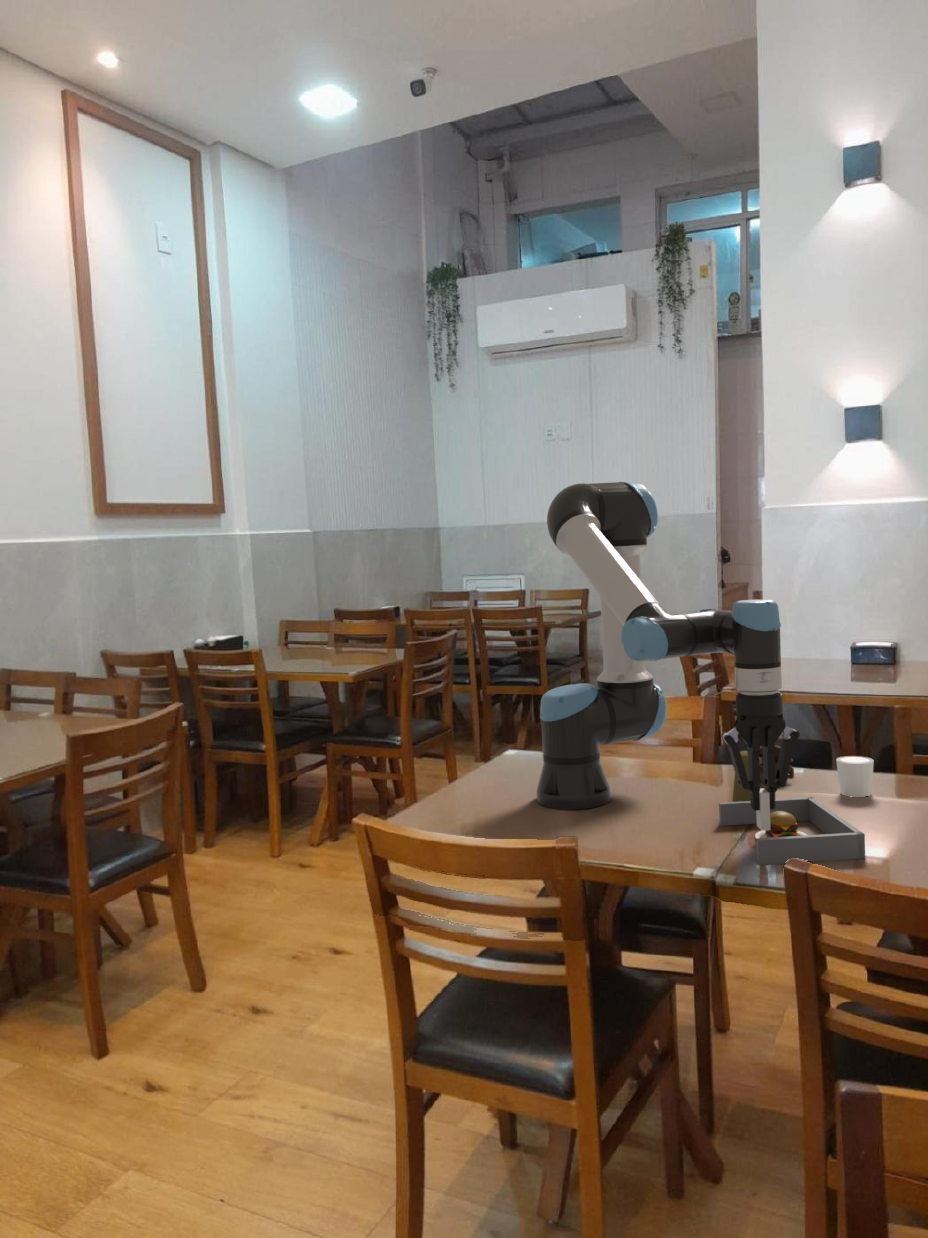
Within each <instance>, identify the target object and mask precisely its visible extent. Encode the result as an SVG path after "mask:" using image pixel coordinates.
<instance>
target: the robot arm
mask: <svg viewBox="0 0 928 1238" xmlns="http://www.w3.org/2000/svg"><path fill="white" fill-rule="evenodd" d="M658 518H659V516H658V507H657V504H656V501H655V498H654V497H653V495H652V493H651V492H650V491H649V489H648V488H647V487H646V486H644V485H643V484H641V483H638V482H626V481H617V482H595V483H584V482H583V483H576V484H572V485H568V486H567V487H565V488H563V489H562V490H560V491H559V492H558V493H557V494H556V495H555V497H554V498H553V499H552V501H551V503H550V505H549V508H548V511H547V516H546V524H547V531H548V533H549V537H550V538H551V541H552V543H553V544H554V545H555V547H556V548H557V549H558V550H559V552H561V553H562V554H564V555H566V556H570V558H571V559H572V560H573V561H574V563H575V564H576V565H577V567H578V568H579V569H580V571H581V572H582V573H583V576H585V578H586V579H587V580H588V581H589V583H590V584H591V585H592V586H593V588H594V590H595V591H596V592H597V593H598V595H599V597H600V618H601V619H600V620H601V637H602V638H601V639H602V640H601V641H602V660H603V661H602V662H603V671H602V672H601V673H600V674H599V675H598V676H597V678H596V682H597V684H596V685H597V687H596V685H595V684H592V683H587V682H585V683H583V682H581V683H574V684H567V685H565V684H564V685H562V686H557V687H555V688H552V689H550V690H548V691H546V692H545V693H544V694H543V695H542V696H541V699H540V708H539V709H540V711H539V718H540V725H541V742H542V755H543V760H542V761H543V766H542V769H541V773H540V776H539V779H538V783H537V787H536V801H537V803H538V804H539V805H541V806H543V807H545V808H546V807H547V808H549V809H550V808H551V809H556V810H557V809H558V810H583V809H585V810H586V809H592V808H597V807H601V806H603V805H606V804H607V803H609V802H610V801H611V797H612V796H611V787H610V784H609V781H608V780H607V776H606V773H605V771H604V768H603V766H602V765H603V764H602V763H601V753H600V749H601V748H600V746H606V745H611V744H617V743H624V742H630V741H631V742H632V741H634V742H637V741H640V740H643V739H647V738H650V737H653V736H655V735H656V734H657V733H658V732H659V730H661V729H662V726H663V725H664V722H665V719H666V713H667V702H666V698H665V697H666V696H665V695H664V694H663V692H664V691H663V689H662V688H661V687H660V686H659V684H657V683H655V682H654V676H653V675H652V674H651V672H649V671H648V670H647V669H646V661H650V662H652V661H653V662H655V661H660V660H666V659H672V658H679V657H690V656H698V655H707V654H715V653H716V654H718V653H721V654H729V655H730V654H731V655H733V656H734V657H733V658H734V663H733V664H734V665H733V666H734V683H735V685H734V688H735V690H737V691H738V692H736V694H735V712H736V718H735V721H734V723H733V728H732V729H730V730H729V731H728V732H722V733H721V739H722V740H723V742H724V743H725V744H726V746H727V749H728V752H729V755H730V759H731V763H733V764H732V766H733V769H734V774H735V773H736V777H737V780H738V784H739V785H740V786H741V787H742V788H744V789H747V790H750V805H751V808H752V809H753V810H756V819H757V824H756V827H757V828H758V829H759V830H760V831H764V830H771V827H770V809H774V808H775V799H776V793H777V791H778V789H780V788H784V787H786V785H787V781H788V777H789V776H788V775H789V774H788V772H789V767H790V766H791V763H792V762H791V758H792V759H793V757H792V756H793V751H794V748H795V744H796V743H797V741H798V739H799V738H800V735H801V734H800V731H798V730H796V729H794V728H791V727H789V726H788V725H787V722H786V721H785V719H784V715H783V714H784V707H783V694H782V692H780V690H781V689H783V685H782V659H781V658H782V655H781V653H782V652H781V627H782V624H781V621H780V620H781V619H780V612H779V611H780V609H779V605H778V603H777V602H776V601H775V600H773V599H743V600H738V601H735V602H733V604H732V607H731V608H732V609H731V610H724V609H723V610H722V609H716V608H706V609H704V608H703V609H696V610H695V611H693V612H685V613H672V614H669V613H668V612H667V611H666V609H664V607H663V606H662V605H661V604H660V603H659V602H658V600H657V599H656V597H654V595H653V594H652V593H651V592H650V591H649V589H648V588H647V586H646V585H645V584H644V583H643V581H642V574H641V569H642V568H641V554H642V552H643V551H644V550H645V548H647V547H648V541H647V538H649V537H651V535H653V534H654V532H655V531H656V526H658V525H657V524H658V522H659V521H658ZM738 735H739V737H740V738H741V739H742V740H743V742H744V743H745V744H746V751H748V777H749V781H748V778H747V774H746V771H745V767H744V764H743V760H742V757H741V753H740V747H739V745H738V741H739V737H738ZM781 735H782V740H781V745H780V747H781V749H780V754H779V759H778V763H777V768H776V773H775V758H774V752H775V745H776V742H777V741H778V739H779V738H780V737H781ZM760 747H762V750H763V775H764V778H763V787H764V788H762V787H761V789H760V786H761V779H760V764H759V753H760Z"/></svg>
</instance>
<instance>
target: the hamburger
mask: <svg viewBox="0 0 928 1238" xmlns="http://www.w3.org/2000/svg"><path fill="white" fill-rule="evenodd" d="M798 826H799V824H798V823H797V821H796V819H795V817H794V816H793V815H791V814H790V813H787V812H784V811H775V812H772V813H770V827H771V830H764V831H762V830H759V831H757V832H756V833H755V834H754V837H755V840H756V839H757V838H761V837H762V836H765V835H766V838H773V837H789V836H806V835H808V834H807V833H805V832H803V831H800V829H799V827H798Z"/></svg>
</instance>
